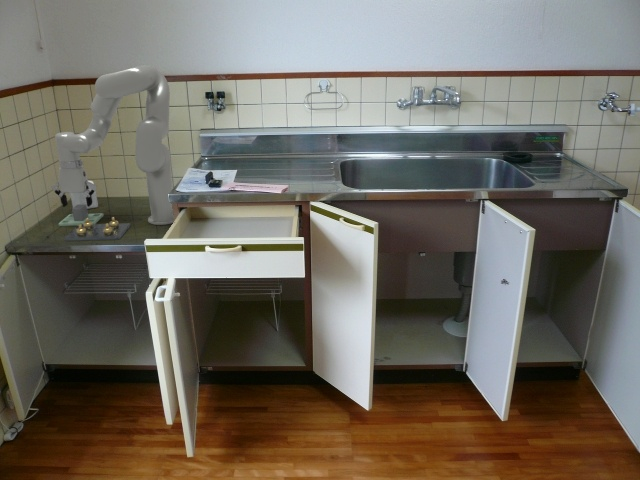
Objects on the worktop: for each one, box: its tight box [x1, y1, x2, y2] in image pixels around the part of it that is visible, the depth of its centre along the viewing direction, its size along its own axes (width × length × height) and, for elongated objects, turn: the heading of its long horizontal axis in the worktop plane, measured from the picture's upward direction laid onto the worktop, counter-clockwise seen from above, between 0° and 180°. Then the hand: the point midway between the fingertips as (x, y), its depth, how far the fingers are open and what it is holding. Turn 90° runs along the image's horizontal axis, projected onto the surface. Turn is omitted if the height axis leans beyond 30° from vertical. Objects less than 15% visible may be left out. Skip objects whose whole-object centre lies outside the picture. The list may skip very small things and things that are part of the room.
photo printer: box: [69, 180, 99, 210], centre depth 229 cm, size 10×4×12 cm, turn 123°
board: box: [58, 204, 104, 227], centre depth 216 cm, size 14×11×6 cm
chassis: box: [64, 216, 131, 242], centre depth 203 cm, size 20×14×5 cm
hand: (77, 205), depth 215 cm, fingers open, 9 cm apart
